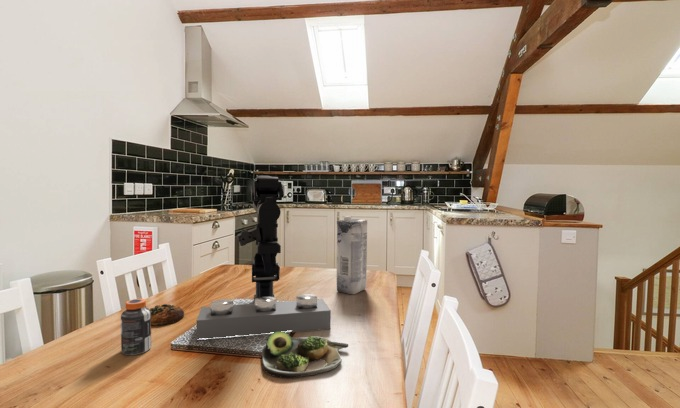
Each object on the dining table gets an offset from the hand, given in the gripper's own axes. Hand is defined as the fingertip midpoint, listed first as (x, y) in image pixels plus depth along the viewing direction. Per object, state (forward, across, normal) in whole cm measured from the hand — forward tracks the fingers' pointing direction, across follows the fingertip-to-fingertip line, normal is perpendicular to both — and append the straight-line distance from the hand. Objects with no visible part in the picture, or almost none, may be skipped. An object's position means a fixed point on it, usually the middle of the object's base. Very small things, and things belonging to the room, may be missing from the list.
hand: (267, 272), depth 106 cm
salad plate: (+13, +30, +5) cm, 33 cm away
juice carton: (+12, -17, +31) cm, 37 cm away
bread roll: (+12, -2, -29) cm, 31 cm away
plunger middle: (+12, +11, -1) cm, 16 cm away
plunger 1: (+12, +11, -12) cm, 20 cm away
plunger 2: (+11, +11, +10) cm, 19 cm away
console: (+12, +11, -1) cm, 16 cm away
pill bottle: (+12, +18, -30) cm, 37 cm away
